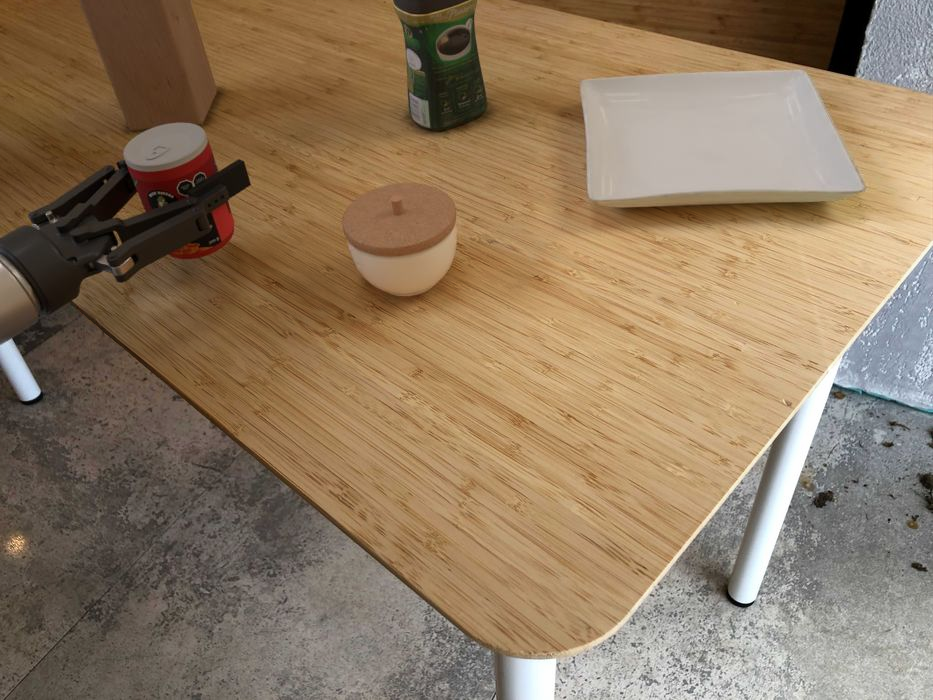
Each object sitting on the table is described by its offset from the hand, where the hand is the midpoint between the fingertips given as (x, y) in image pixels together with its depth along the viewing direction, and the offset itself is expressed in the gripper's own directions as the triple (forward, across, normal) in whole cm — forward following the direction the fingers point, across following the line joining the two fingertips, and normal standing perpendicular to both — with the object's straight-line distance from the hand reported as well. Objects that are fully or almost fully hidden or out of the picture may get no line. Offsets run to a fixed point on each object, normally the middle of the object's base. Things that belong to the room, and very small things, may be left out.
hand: (217, 160), depth 85 cm
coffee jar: (+32, +3, -10) cm, 34 cm away
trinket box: (+4, +20, -10) cm, 23 cm away
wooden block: (+15, -31, -10) cm, 36 cm away
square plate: (+39, +35, -10) cm, 53 cm away
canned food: (-5, 0, -7) cm, 8 cm away
